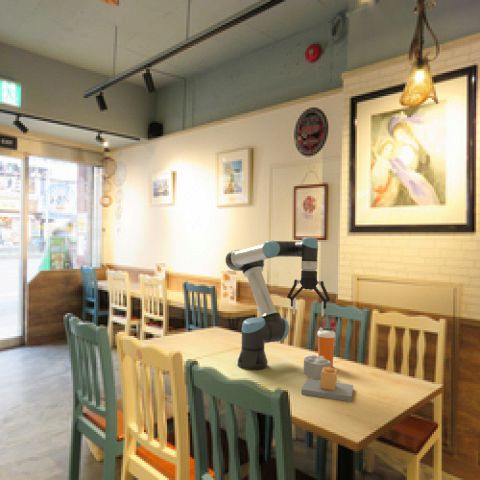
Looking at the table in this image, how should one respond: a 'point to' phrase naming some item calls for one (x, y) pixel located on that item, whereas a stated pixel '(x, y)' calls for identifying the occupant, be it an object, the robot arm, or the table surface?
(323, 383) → the tan hollow block
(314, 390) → the plate
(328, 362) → the lumpy-topped squat cylinder
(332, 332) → the shaker bottle
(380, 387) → the table surface
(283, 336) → the robot arm
